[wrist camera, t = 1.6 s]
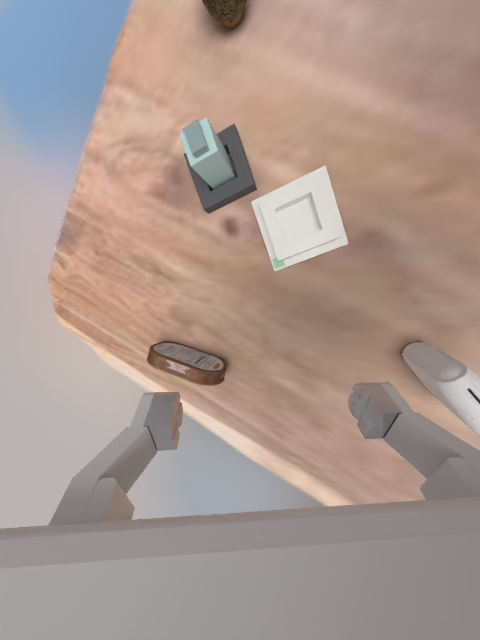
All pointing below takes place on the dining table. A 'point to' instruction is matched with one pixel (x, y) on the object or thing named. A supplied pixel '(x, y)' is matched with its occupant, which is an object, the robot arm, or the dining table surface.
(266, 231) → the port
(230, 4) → the cup
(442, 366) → the photo printer
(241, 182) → the holster
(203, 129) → the plug
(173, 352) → the tin
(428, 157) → the dining table surface
